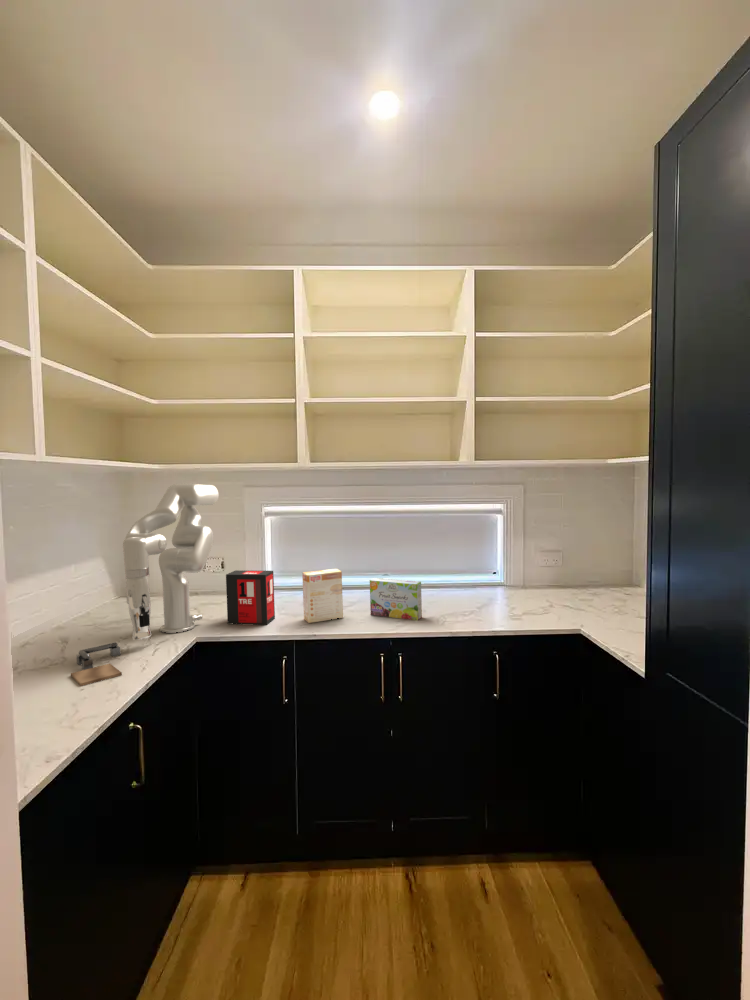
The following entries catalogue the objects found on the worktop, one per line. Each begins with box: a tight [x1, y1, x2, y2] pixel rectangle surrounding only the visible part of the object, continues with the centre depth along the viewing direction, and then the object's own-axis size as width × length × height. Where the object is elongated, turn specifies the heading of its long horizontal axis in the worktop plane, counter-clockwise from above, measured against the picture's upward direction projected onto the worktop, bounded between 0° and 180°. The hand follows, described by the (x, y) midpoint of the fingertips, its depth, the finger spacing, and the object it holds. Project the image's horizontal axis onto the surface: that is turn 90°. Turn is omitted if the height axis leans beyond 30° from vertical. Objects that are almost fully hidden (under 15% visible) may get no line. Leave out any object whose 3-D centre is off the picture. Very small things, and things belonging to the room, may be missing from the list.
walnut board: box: [70, 663, 123, 687], centre depth 154 cm, size 11×11×1 cm
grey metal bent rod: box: [76, 642, 121, 670], centre depth 166 cm, size 12×8×4 cm
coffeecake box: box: [301, 568, 344, 624], centre depth 209 cm, size 15×7×20 cm, turn 115°
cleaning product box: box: [225, 569, 276, 626], centre depth 208 cm, size 16×9×20 cm, turn 81°
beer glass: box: [127, 596, 152, 641], centre depth 177 cm, size 7×7×15 cm
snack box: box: [369, 577, 423, 621], centre depth 210 cm, size 21×6×15 cm, turn 65°
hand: (141, 623), depth 178 cm, fingers closed on beer glass, 6 cm apart
